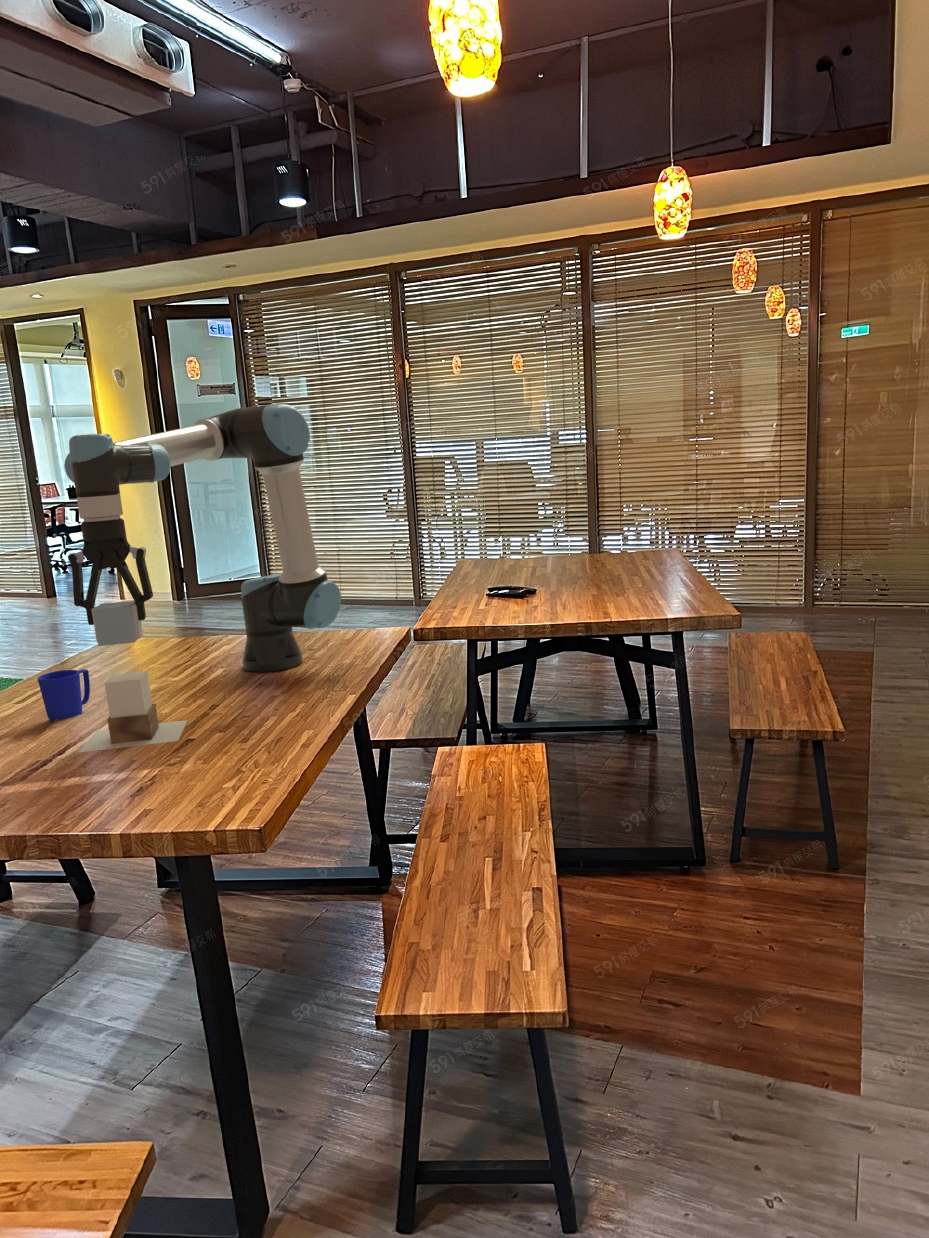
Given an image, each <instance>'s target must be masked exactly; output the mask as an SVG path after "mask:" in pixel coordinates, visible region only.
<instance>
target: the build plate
mask: <svg viewBox="0 0 929 1238" xmlns="http://www.w3.org/2000/svg"><path fill="white" fill-rule="evenodd" d="M188 721H189V720H188V719H186V720H178V721H176V720H175V721H169V722H168V721H167V722H160V723H159V722H158V724H159V728H158V730H157V732H156V733H155V735H154V737H153V739H151V740H143V741H134V742H126V743H117V744H111V739H110V733H109V728H107V729H98V730H95V731H94V732H93V734H92V735H91V736H90V737H89V739H88V740H87V741H86V743H84V745H83V746H82V747H81V749H80V750H79V752H78V753H88V752H96V751H103V750H105V751H106V750H114V749H120V748H122V749H123V748H130V747H138V746H146V745H147V746H148V745H155V744H156V745H157V744H164V743H171V742H173V743H174V742H178V741H179V740H180V737H181V735H182V733H183V732H184V729H185V727H186V725H187V723H188Z"/></svg>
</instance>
